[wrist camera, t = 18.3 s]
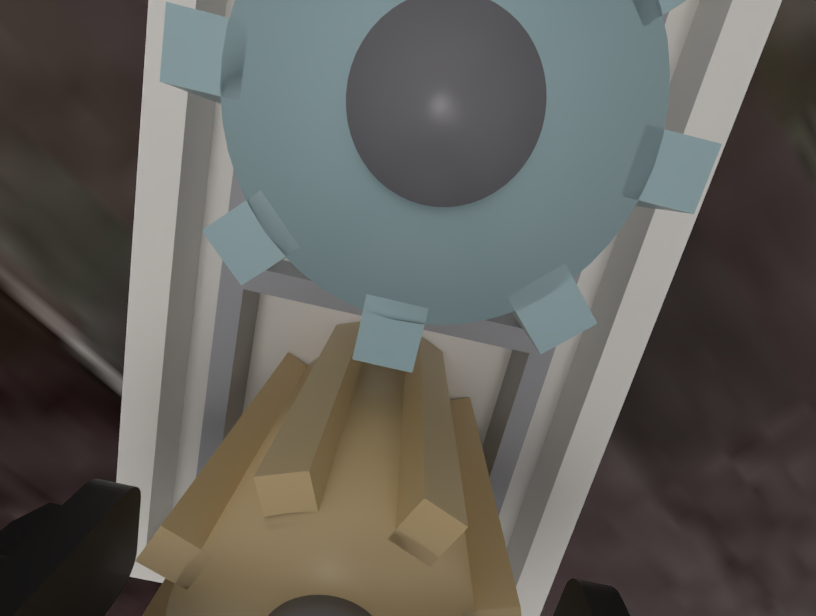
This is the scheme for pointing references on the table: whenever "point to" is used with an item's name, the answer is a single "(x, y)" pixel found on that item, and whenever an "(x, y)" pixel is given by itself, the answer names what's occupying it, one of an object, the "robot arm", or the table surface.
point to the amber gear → (340, 501)
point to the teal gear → (438, 150)
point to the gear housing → (460, 343)
